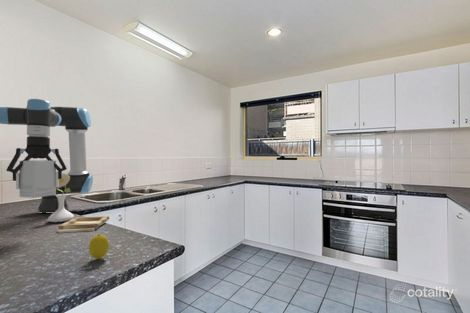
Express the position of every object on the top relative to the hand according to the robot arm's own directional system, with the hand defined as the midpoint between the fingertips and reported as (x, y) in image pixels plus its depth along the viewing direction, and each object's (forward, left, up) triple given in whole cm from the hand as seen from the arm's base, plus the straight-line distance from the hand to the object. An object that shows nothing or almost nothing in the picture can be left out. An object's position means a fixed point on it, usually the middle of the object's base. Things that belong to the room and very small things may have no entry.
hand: (38, 187), depth 100 cm
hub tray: (-13, +13, -20) cm, 27 cm away
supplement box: (0, 0, -4) cm, 4 cm away
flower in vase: (-25, -3, -20) cm, 32 cm away
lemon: (+31, +34, -20) cm, 50 cm away
